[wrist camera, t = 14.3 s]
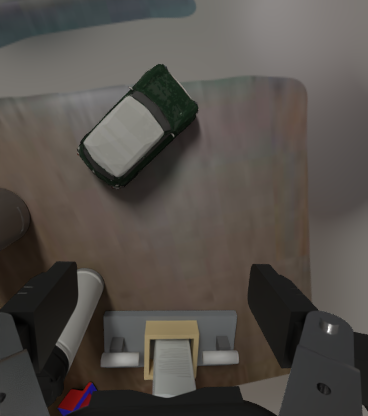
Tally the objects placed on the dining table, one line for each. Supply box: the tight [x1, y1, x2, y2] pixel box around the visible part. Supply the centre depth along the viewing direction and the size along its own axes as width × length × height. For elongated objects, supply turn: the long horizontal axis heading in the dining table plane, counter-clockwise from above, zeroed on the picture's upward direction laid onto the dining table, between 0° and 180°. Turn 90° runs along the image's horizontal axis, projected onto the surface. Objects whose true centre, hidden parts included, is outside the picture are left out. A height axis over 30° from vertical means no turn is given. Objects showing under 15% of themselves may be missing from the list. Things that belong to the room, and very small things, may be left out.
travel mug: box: [36, 268, 104, 407], centre depth 34 cm, size 6×7×20 cm
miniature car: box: [77, 64, 198, 189], centre depth 35 cm, size 9×18×8 cm, turn 133°
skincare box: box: [152, 339, 196, 398], centre depth 40 cm, size 6×4×12 cm
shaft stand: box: [101, 310, 239, 380], centre depth 45 cm, size 24×11×6 cm, turn 87°
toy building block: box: [57, 382, 97, 416], centre depth 46 cm, size 4×4×8 cm
